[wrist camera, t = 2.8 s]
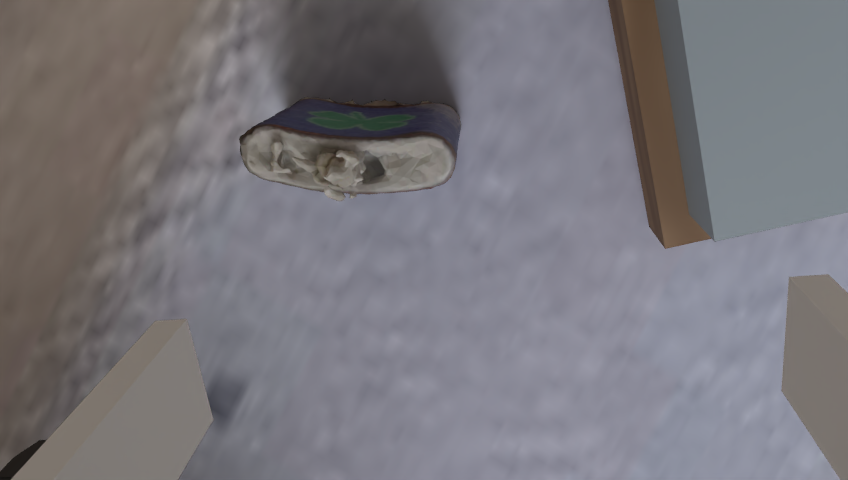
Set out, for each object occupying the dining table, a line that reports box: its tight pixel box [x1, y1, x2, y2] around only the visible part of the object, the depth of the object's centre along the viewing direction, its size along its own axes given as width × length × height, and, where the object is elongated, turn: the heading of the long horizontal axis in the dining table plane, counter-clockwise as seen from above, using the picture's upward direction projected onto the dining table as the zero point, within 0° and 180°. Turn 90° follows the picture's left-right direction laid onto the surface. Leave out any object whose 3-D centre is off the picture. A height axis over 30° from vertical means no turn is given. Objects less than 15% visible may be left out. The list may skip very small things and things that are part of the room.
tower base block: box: [608, 0, 711, 249], centre depth 35 cm, size 14×14×4 cm
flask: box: [239, 97, 461, 201], centre depth 33 cm, size 9×3×11 cm, turn 88°
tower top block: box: [654, 0, 848, 241], centre depth 31 cm, size 12×12×4 cm
